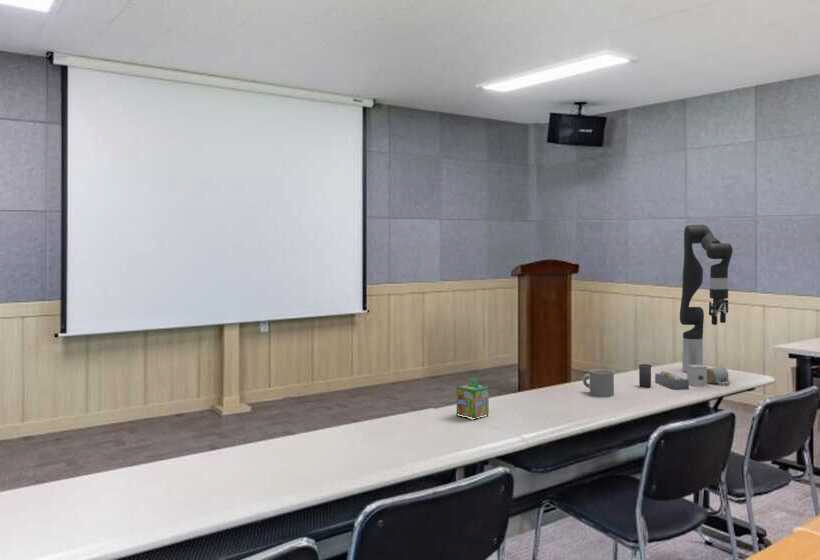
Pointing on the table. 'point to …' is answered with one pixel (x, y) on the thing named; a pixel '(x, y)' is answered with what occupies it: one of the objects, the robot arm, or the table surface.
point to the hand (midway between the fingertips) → (718, 323)
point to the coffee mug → (600, 383)
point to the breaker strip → (671, 380)
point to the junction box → (697, 375)
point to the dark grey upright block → (645, 375)
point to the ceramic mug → (717, 375)
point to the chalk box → (473, 399)
